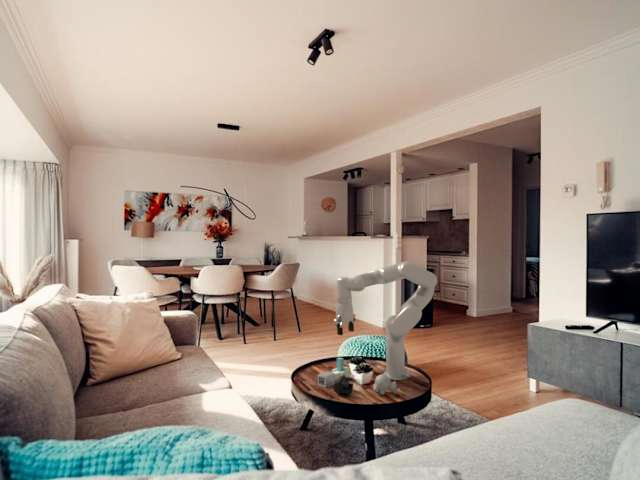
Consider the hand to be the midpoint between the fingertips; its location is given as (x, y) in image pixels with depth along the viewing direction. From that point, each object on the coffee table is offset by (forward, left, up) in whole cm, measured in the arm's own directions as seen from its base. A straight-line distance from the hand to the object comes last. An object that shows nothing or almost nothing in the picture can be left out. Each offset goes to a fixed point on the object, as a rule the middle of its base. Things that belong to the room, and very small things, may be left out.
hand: (345, 333), depth 206 cm
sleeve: (-1, +17, -22) cm, 28 cm away
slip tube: (-1, +11, -21) cm, 24 cm away
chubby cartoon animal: (-29, +6, -23) cm, 38 cm away
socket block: (-1, +6, -22) cm, 23 cm away
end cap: (-14, +19, -23) cm, 33 cm away
